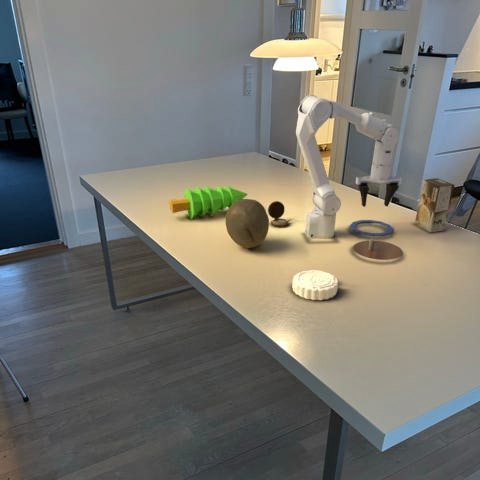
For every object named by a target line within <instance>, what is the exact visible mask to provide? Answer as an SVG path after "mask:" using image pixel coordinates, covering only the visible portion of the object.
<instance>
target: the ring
mask: <svg viewBox="0 0 480 480" xmlns="http://www.w3.org/2000/svg"><path fill="white" fill-rule="evenodd" d="M360 224H368V225H369V224H377V225H380V226H383V227H385V228H386V229H387V230H386V231H381V232H369V231H363V230H361V229H358V228H357V227H356V226H357V225H360ZM349 228H350V229H351V231H352V232H354V233H357V234H359V235H364V236H370V237H385V236H387V235H391V234H392V232H393V231H394V227H392V225H391V224H389V223H387V222H384V221H380V220H374V219H359V220H356V221H355V220H354V221H353V222H351V224H350V225H349Z"/></svg>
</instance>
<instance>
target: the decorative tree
mask: <svg viewBox="0 0 480 480" xmlns="http://www.w3.org/2000/svg"><path fill="white" fill-rule="evenodd" d="M183 194H184V198H174V199H169V203H168V204H169V209H170V212H171V214H175V213H180V212H184V211H186V214H187V216H188V217H189V218H190V219H191V220H193V219H194V218H196V217H197V216H199V217H200V218H203V217H204V216H205V215H206V214H208V215H209V216H211V218H212V217H213V216H215V215H216V214H217V213H218V212H219V211H220V212H222V211H224V210H225V209H226V208H228V209H229V208H230V207H231V205H232V204H233V203H235V202H236V201H238V200H241V199H245V198H246V197H247V196H248V195H249V193H246V192H244V191H241V190H239V189H236V188H234V187H231V186H228V185H226V186H225V188H223V187H221V186H217V187H216V189H215V188H212V187H209V186H206V185H205V186H204V189H202V188H200V187H198V186H196V187H195V189H194V190H192V189H190V188H188V187H186V188H185V190H184V193H183Z"/></svg>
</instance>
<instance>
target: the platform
mask: <svg viewBox="0 0 480 480" xmlns="http://www.w3.org/2000/svg"><path fill="white" fill-rule="evenodd" d="M352 249H353V251H354V253H356V254H357V255H359V256H362V257H364V258H367V259H371V260H379V261H391V260H396V259H398V258H400V257H402V256H403V253H404V251H403V250H402V248H401V247H400V246H398V245H396V244H394V243H392V242H387V241H383V240H376V239H375V238H369V240H362V241H359V242H356V243H354V244H353V246H352Z"/></svg>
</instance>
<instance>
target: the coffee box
mask: <svg viewBox="0 0 480 480" xmlns="http://www.w3.org/2000/svg"><path fill="white" fill-rule="evenodd" d="M421 184H422V185H421V190H420V194H419V199H418V200H419V201H418V205H417V210H416V216H415V221H414V223H416V224H419V225H420V226H422V227H423V229H425V231H426V232H429V233H436V232H442V231H443V232H444V231H445V229H446V224H447V221H448V216H449V212H450V208H451V203H452V198H453V194H454V190H455V184H454V183H451V182H449V181H446V180H443V179H441V178H438V177H436V178H427V179H423V180H422V183H421Z"/></svg>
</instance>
